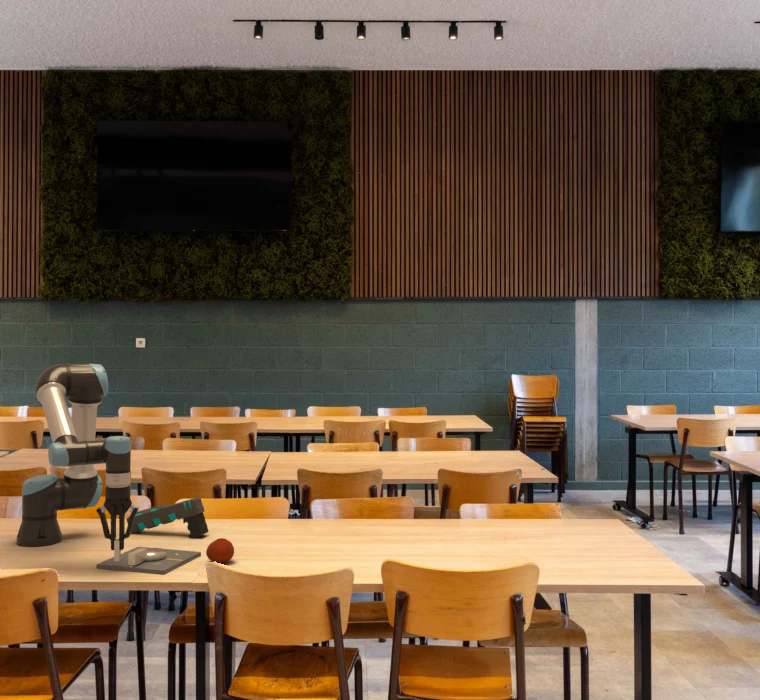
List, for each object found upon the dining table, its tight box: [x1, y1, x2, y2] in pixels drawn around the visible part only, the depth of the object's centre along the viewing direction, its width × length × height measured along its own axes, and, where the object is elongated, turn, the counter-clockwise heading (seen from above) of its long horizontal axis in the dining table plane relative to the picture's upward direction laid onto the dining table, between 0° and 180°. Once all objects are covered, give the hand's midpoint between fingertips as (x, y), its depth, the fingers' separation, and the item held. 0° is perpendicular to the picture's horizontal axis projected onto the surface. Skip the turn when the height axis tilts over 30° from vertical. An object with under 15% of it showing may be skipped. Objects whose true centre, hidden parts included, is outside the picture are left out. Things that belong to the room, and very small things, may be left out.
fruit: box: [205, 537, 235, 564], centre depth 267 cm, size 9×9×8 cm
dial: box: [128, 547, 166, 565], centre depth 264 cm, size 16×10×4 cm, turn 165°
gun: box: [126, 496, 209, 539], centre depth 305 cm, size 7×29×15 cm, turn 77°
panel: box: [96, 546, 202, 575], centre depth 267 cm, size 24×24×1 cm
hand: (117, 560), depth 257 cm, fingers closed
